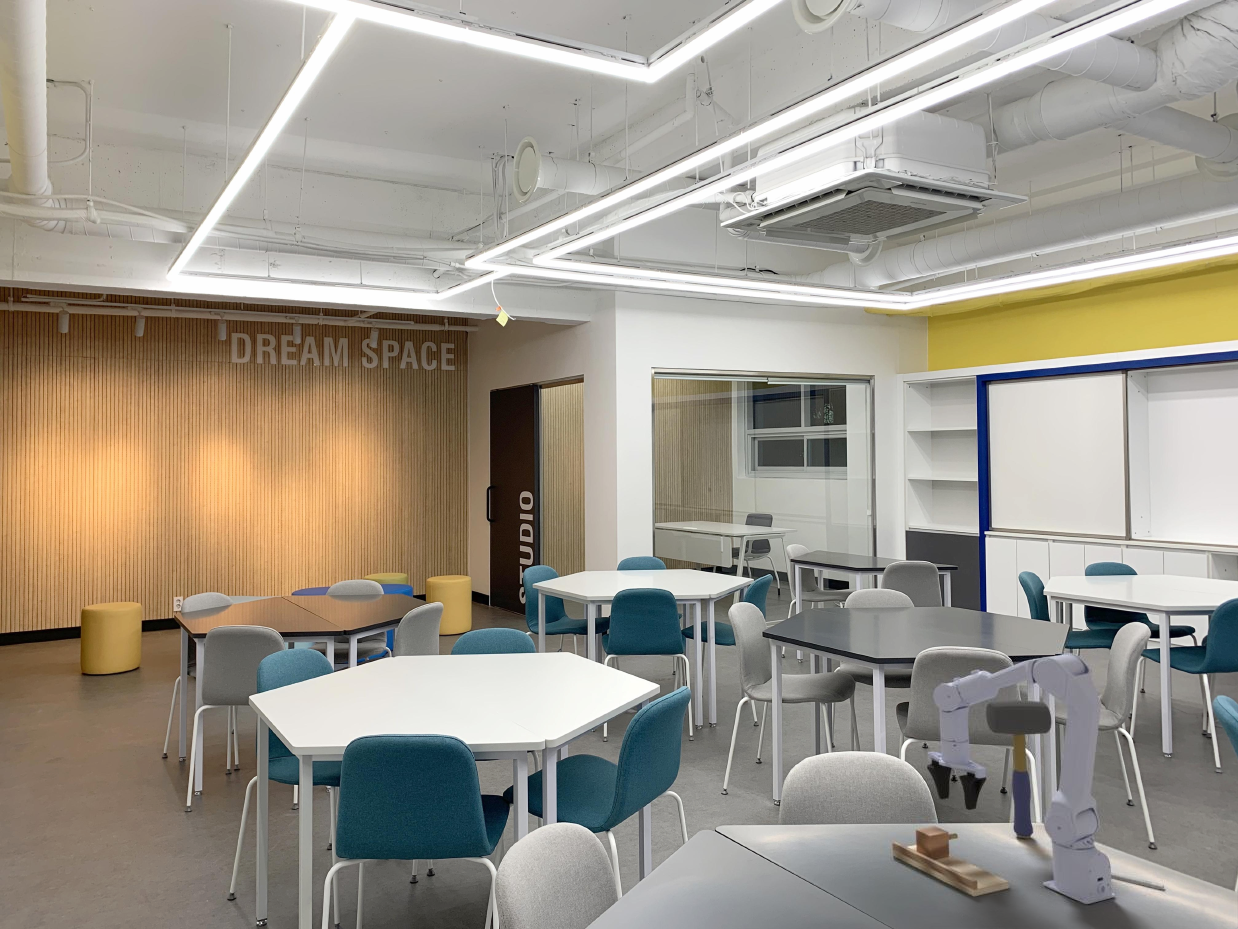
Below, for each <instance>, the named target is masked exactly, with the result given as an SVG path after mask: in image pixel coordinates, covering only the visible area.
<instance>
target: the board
mask: <svg viewBox="0 0 1238 929" xmlns="http://www.w3.org/2000/svg"><path fill="white" fill-rule="evenodd" d="M892 856H893V857H895V858H897V859H898V860H901V861H903V862H905V863H906V864H909V865H910V866H913V867H914V868H916V869H919V870H920V871H923V872H925V873H926V874H928V875H930V876H933V877H935V878H937V879H938V880H941V882H944V883H946V884H949V885H950V886H953V887H954V888H956V889H958V890H960V891H962V892H964V893H966V894H968V895H970V896H972V897H977V896H982V895H986V894H990V893H994V892H999V891H1002V890H1006V889H1007V890H1008V889H1009V888H1010V882H1009V880H1006V879H1005V878H1002V877H1000V876H998V875H995V874H993V873H991V872H989V871H987V870H985V869H983V868H982V867H978V866H976V865H974V864H972V863H970V862H967V861H966V860H963V859H962V858H959V857H957V856H954V855H952V854H950V853H949V857H947V858H942V859H938V860H933V859H931V858H929V857H927V856H925V855H923V854H921V853H919V852H917V847H916V844H914V845H909V846H906V845H904V844H901V843H900V842H897V841H892Z"/></svg>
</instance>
